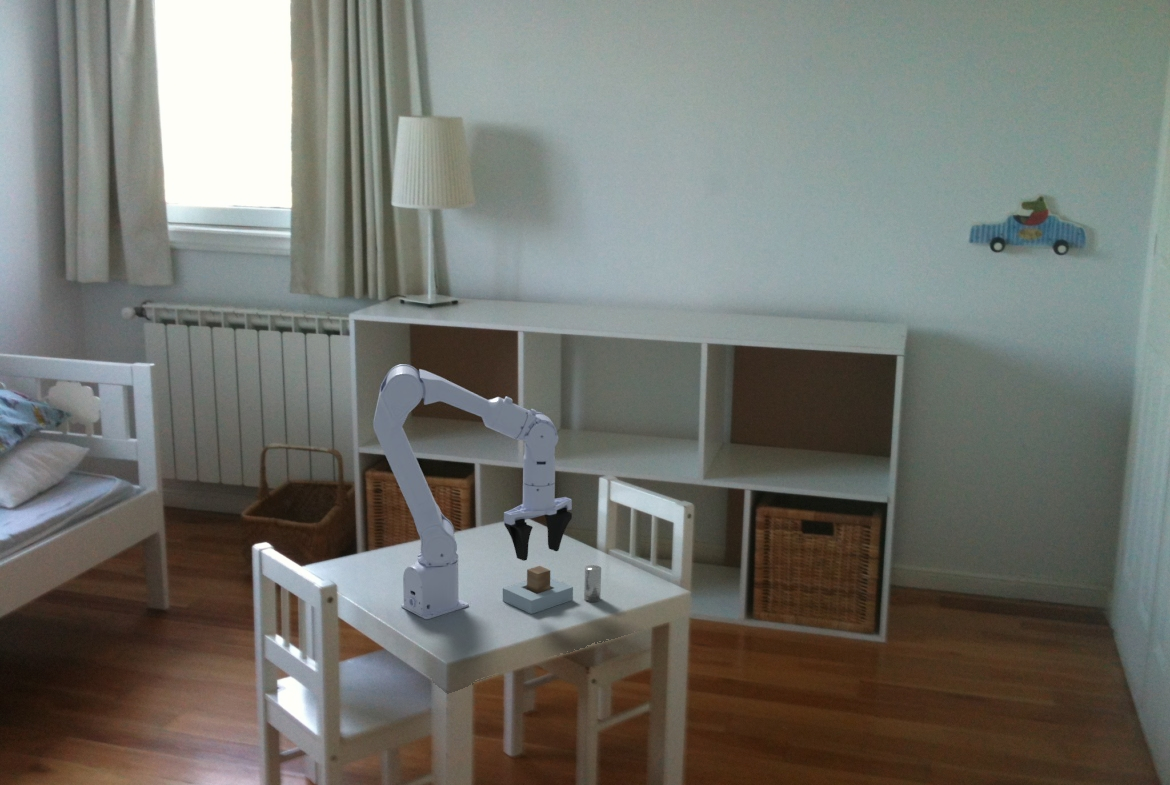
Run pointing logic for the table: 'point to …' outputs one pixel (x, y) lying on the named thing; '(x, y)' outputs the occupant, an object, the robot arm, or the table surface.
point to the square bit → (538, 579)
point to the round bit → (592, 583)
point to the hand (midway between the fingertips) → (537, 554)
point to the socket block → (537, 596)
